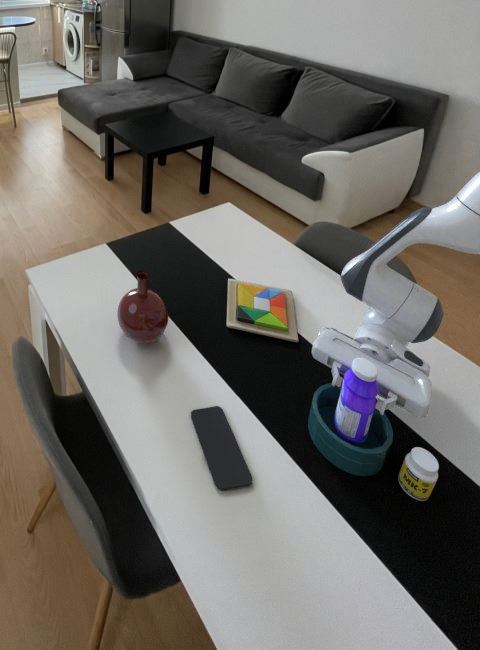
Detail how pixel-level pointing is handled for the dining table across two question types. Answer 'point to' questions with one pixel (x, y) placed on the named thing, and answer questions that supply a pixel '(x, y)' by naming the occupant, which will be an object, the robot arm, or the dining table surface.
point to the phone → (221, 449)
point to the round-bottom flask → (142, 312)
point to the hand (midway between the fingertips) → (357, 397)
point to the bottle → (357, 401)
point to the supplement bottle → (419, 473)
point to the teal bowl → (344, 452)
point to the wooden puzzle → (261, 310)
